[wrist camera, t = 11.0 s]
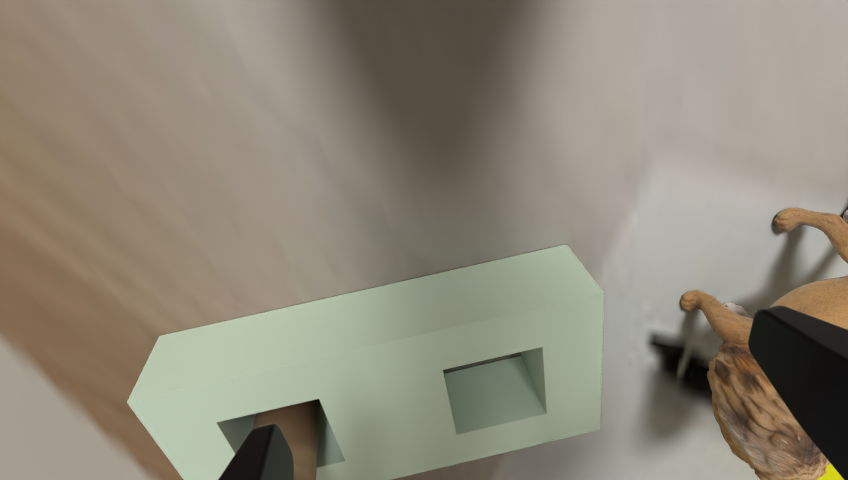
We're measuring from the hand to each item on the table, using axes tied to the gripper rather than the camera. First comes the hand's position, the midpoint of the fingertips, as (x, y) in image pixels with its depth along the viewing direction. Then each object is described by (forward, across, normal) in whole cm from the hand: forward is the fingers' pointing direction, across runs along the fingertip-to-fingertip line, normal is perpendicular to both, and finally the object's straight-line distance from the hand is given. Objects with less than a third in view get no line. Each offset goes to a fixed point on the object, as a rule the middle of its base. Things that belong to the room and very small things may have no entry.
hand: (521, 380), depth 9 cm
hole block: (+13, +4, +11) cm, 17 cm away
